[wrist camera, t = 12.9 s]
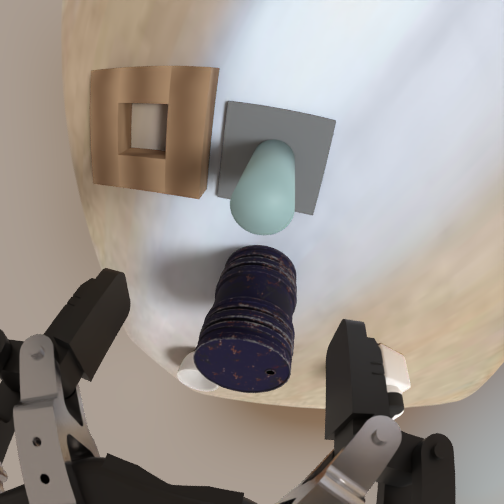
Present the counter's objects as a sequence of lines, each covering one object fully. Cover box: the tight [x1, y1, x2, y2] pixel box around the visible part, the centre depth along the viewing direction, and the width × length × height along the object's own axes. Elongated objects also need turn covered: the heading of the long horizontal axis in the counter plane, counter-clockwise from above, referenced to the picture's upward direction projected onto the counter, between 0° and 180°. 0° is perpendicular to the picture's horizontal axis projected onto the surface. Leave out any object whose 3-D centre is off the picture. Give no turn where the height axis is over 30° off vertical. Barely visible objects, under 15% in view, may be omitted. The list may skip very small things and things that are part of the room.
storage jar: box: [193, 245, 297, 393], centre depth 33 cm, size 10×10×15 cm
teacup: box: [177, 351, 219, 391], centre depth 50 cm, size 10×8×5 cm
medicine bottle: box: [378, 344, 411, 420], centre depth 41 cm, size 7×7×12 cm
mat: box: [218, 101, 336, 215], centre depth 30 cm, size 11×11×1 cm
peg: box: [230, 139, 295, 235], centre depth 25 cm, size 4×4×12 cm
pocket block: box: [90, 66, 219, 199], centre depth 28 cm, size 14×14×3 cm
